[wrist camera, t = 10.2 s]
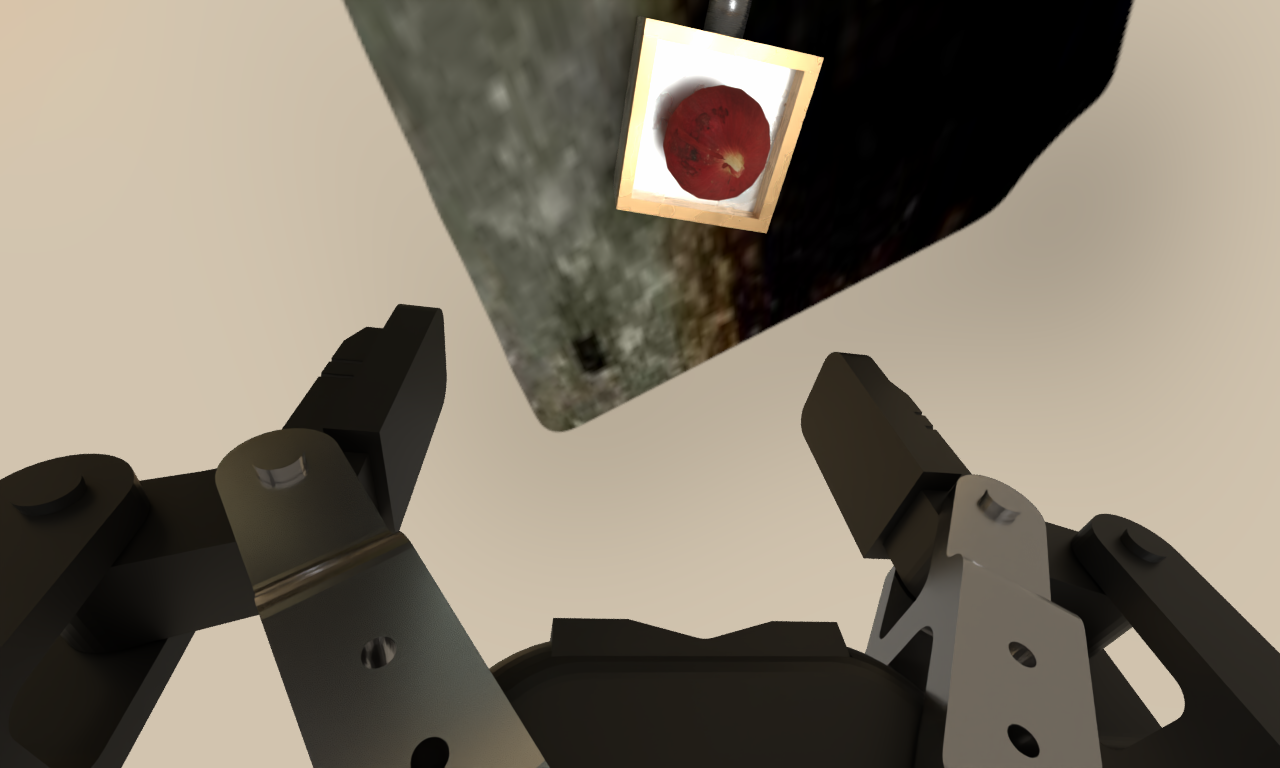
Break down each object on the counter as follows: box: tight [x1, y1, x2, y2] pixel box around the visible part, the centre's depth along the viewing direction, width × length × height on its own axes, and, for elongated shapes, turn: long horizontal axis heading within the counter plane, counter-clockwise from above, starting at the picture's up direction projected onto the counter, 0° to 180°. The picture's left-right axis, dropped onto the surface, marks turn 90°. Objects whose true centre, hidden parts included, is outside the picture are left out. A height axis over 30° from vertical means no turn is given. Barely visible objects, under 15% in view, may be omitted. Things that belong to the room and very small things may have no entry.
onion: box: [663, 85, 770, 201], centre depth 29 cm, size 6×6×8 cm
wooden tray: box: [613, 0, 824, 233], centre depth 33 cm, size 13×10×6 cm
